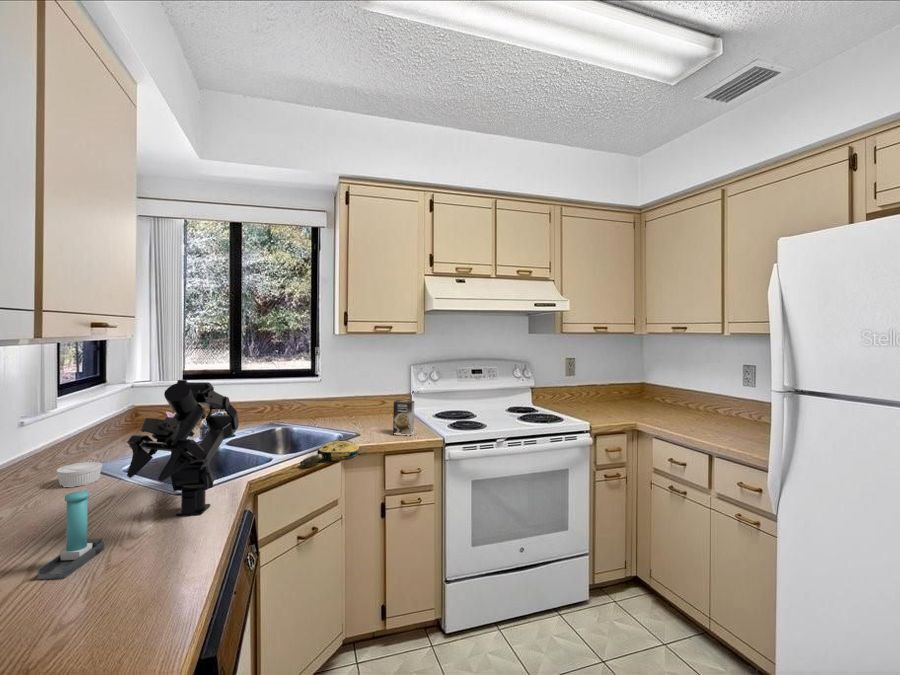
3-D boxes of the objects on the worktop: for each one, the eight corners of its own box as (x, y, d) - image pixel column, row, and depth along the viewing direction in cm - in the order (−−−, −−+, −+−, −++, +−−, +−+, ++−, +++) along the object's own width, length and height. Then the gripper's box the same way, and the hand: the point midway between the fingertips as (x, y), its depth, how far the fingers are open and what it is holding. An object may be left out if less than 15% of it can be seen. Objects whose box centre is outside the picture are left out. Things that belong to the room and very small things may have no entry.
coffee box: (392, 435, 218) (392, 401, 218) (395, 432, 224) (396, 399, 224) (411, 436, 217) (411, 402, 217) (414, 433, 223) (414, 400, 223)
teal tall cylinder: (73, 551, 98) (73, 491, 98) (93, 550, 99) (93, 490, 98) (59, 560, 94) (59, 498, 94) (80, 559, 95) (80, 497, 95)
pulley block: (288, 448, 166) (343, 433, 193) (286, 464, 167) (341, 446, 193) (317, 460, 160) (370, 442, 186) (315, 476, 160) (368, 456, 187)
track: (80, 550, 101) (80, 537, 101) (104, 549, 102) (104, 536, 102) (37, 579, 89) (37, 565, 89) (64, 578, 90) (64, 564, 90)
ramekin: (49, 491, 138) (49, 473, 138) (64, 479, 148) (65, 463, 148) (94, 487, 142) (95, 470, 142) (106, 476, 152) (106, 460, 152)
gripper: (134, 402, 116) (89, 457, 105) (195, 406, 111) (153, 465, 100) (161, 427, 123) (121, 481, 113) (219, 432, 118) (183, 489, 108)
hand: (143, 478), depth 108 cm, fingers open, 9 cm apart
